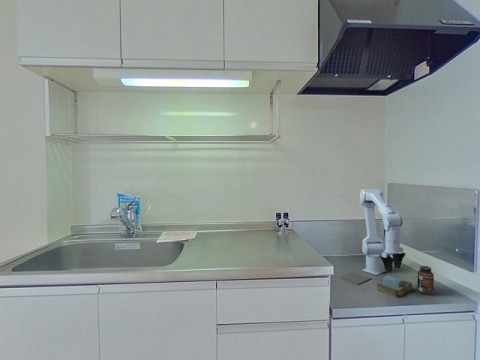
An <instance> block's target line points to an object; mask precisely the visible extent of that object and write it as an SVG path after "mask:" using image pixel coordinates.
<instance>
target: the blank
mask: <svg viewBox="0 0 480 360" xmlns="http://www.w3.org/2000/svg"><path fill="white" fill-rule="evenodd" d="M403 281H404V280H403V279H400V278H397V277H394V276H391V275H385V276H383V277H382V285H385V286H388V287H390V288H393V289H398V288H400V287H402V286H403Z"/></svg>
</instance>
